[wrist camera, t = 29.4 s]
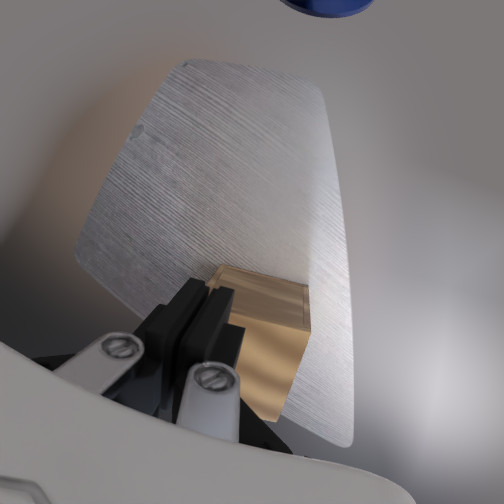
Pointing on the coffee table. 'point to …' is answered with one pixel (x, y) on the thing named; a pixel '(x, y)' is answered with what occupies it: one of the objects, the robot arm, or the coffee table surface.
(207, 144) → the coffee table surface
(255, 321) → the lid
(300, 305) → the box
